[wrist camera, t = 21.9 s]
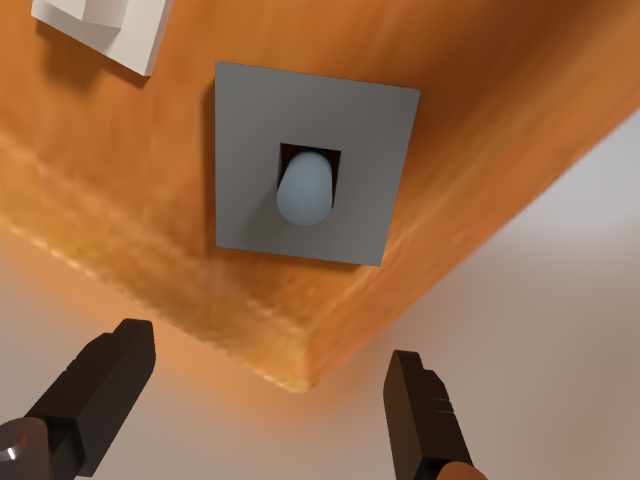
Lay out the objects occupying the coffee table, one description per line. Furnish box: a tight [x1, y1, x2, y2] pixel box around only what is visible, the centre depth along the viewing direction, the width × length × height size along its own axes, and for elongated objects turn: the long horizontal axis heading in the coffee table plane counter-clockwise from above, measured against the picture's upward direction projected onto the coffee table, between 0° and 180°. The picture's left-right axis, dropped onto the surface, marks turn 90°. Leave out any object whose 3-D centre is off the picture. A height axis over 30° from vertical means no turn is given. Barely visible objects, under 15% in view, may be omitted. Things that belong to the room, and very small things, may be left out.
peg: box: [276, 146, 332, 226], centre depth 29 cm, size 4×4×9 cm
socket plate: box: [215, 62, 421, 267], centre depth 32 cm, size 16×16×3 cm
